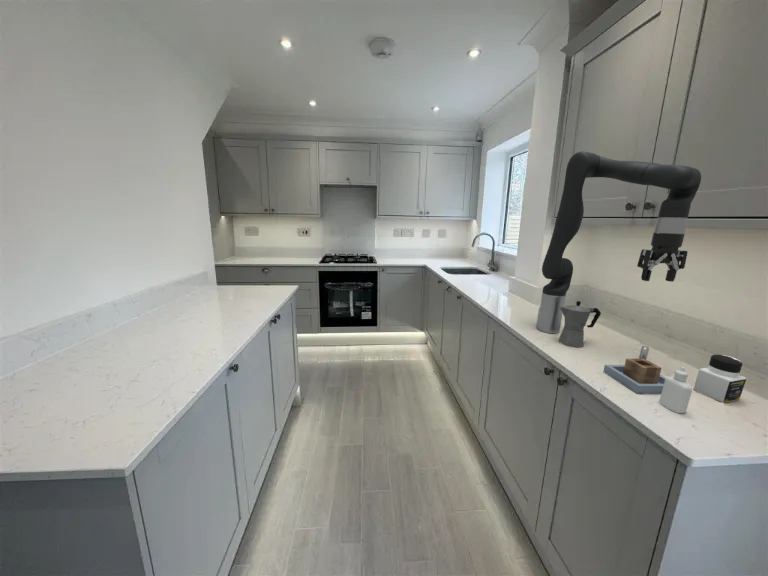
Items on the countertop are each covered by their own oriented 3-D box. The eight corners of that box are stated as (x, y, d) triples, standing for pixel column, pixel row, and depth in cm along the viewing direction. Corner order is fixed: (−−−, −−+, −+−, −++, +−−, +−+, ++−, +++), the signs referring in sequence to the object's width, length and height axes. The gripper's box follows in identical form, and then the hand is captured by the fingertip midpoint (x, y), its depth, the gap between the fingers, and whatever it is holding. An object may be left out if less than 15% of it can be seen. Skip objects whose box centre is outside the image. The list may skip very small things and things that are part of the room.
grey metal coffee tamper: (625, 361, 109) (630, 343, 107) (641, 361, 109) (645, 343, 108) (640, 369, 103) (645, 350, 101) (657, 369, 103) (661, 350, 102)
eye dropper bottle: (677, 404, 84) (688, 364, 81) (687, 415, 79) (699, 374, 76) (657, 400, 85) (667, 361, 83) (666, 411, 80) (677, 370, 78)
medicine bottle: (723, 403, 85) (736, 364, 82) (692, 389, 91) (703, 353, 89) (739, 400, 87) (752, 362, 84) (708, 386, 93) (719, 351, 91)
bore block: (622, 375, 97) (626, 358, 96) (639, 375, 98) (643, 358, 96) (638, 385, 92) (642, 367, 90) (657, 385, 92) (661, 367, 91)
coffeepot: (558, 346, 120) (566, 303, 116) (549, 337, 130) (556, 297, 125) (600, 349, 118) (609, 306, 114) (588, 340, 127) (596, 299, 123)
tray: (603, 371, 101) (604, 364, 100) (640, 371, 101) (641, 364, 101) (637, 394, 88) (639, 386, 88) (678, 393, 89) (681, 385, 88)
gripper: (678, 232, 102) (666, 279, 105) (638, 231, 101) (627, 278, 105) (702, 233, 94) (688, 283, 98) (659, 232, 94) (647, 283, 97)
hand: (657, 280), depth 101 cm, fingers open, 8 cm apart
